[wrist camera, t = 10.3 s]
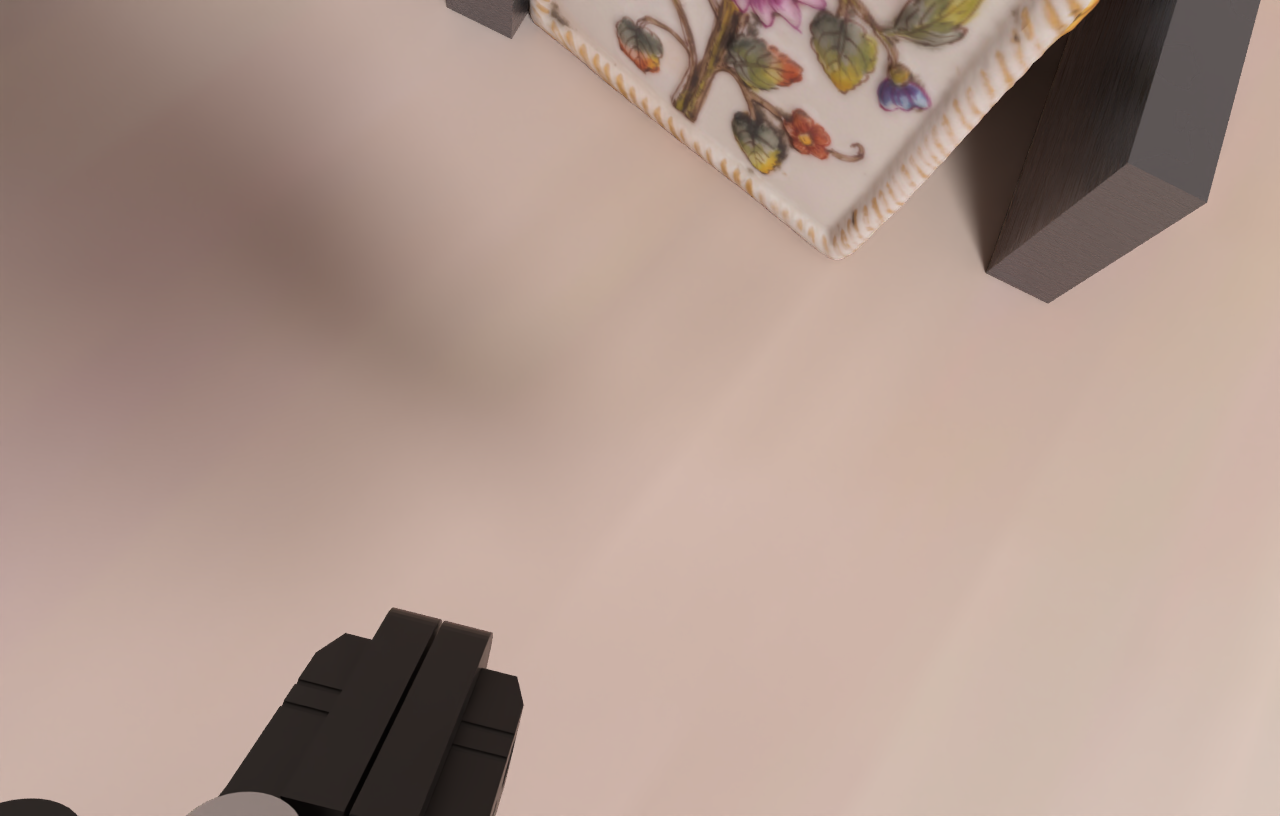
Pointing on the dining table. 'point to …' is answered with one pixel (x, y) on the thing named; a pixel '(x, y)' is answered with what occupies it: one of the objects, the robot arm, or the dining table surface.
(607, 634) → the dining table surface
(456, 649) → the robot arm
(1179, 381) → the dining table surface
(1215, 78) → the grey tray
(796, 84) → the decorative jar
